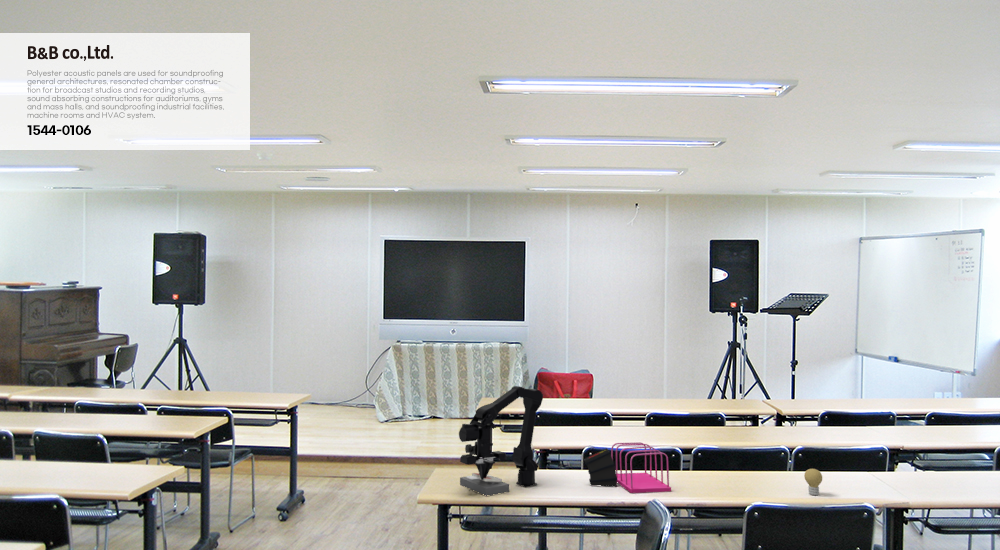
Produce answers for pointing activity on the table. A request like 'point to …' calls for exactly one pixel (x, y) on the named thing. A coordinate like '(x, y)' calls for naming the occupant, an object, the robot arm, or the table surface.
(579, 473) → the table surface
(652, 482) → the file sorter
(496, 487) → the rocker switch panel
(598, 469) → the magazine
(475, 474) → the rocker
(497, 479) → the rocker
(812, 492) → the light bulb
